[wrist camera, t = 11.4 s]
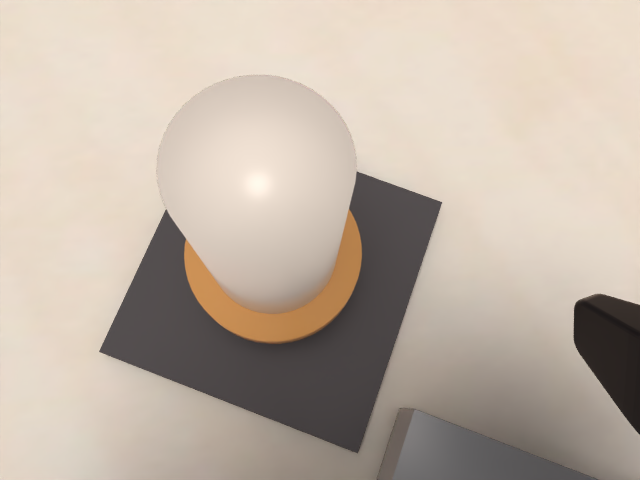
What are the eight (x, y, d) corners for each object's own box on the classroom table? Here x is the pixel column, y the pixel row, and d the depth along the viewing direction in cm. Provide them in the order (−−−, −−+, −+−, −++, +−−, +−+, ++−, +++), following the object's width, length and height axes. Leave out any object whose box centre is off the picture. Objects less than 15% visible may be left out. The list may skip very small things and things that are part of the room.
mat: (438, 207, 24) (441, 202, 23) (356, 451, 21) (357, 453, 21) (210, 125, 25) (208, 118, 24) (104, 353, 22) (99, 351, 22)
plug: (362, 220, 23) (414, 66, 13) (338, 363, 22) (372, 327, 11) (222, 194, 23) (156, 20, 13) (188, 335, 22) (80, 272, 11)
